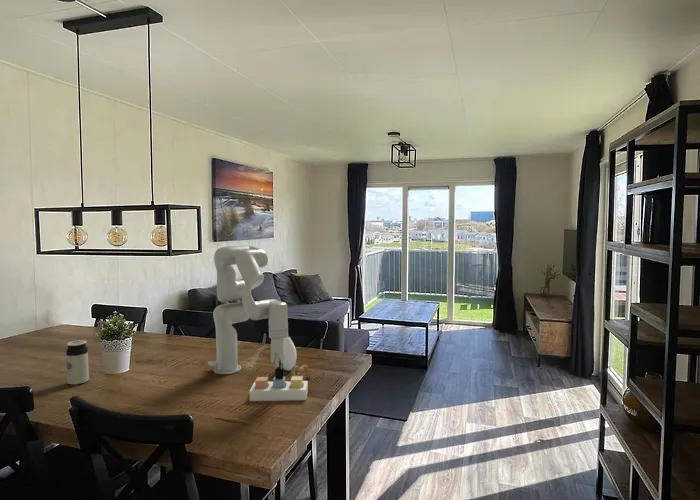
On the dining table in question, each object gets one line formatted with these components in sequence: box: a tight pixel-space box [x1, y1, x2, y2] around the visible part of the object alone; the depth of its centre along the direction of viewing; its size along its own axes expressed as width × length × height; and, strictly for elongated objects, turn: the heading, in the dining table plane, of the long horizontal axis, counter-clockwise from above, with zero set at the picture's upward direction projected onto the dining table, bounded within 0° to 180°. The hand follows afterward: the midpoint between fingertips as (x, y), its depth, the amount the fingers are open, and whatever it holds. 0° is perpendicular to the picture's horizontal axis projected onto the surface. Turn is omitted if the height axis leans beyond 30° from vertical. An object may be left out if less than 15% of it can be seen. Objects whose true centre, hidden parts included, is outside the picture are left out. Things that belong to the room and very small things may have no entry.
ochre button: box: [290, 376, 304, 388], centre depth 174 cm, size 4×4×4 cm
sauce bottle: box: [282, 336, 298, 372], centre depth 205 cm, size 8×8×18 cm
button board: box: [248, 380, 309, 402], centre depth 174 cm, size 22×10×4 cm, turn 92°
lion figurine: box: [290, 364, 312, 380], centre depth 189 cm, size 15×5×9 cm, turn 163°
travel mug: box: [65, 339, 90, 385], centre depth 190 cm, size 8×8×18 cm
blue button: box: [272, 376, 287, 388], centre depth 174 cm, size 4×4×4 cm
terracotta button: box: [254, 376, 269, 389], centre depth 174 cm, size 4×4×4 cm
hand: (279, 378), depth 174 cm, fingers closed
